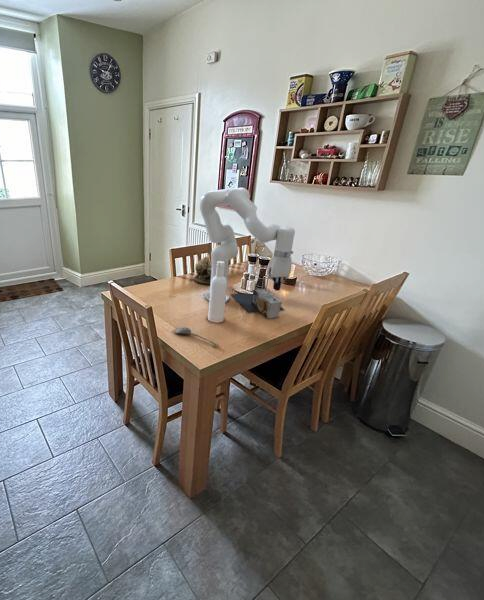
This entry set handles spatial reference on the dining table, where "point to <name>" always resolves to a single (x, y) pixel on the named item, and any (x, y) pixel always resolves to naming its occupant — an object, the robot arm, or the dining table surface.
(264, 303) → the coffee box
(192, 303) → the dining table surface
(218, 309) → the bottle
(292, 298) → the dining table surface
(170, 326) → the dining table surface
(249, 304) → the mat
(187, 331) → the soupspoon
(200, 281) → the owl figurine
